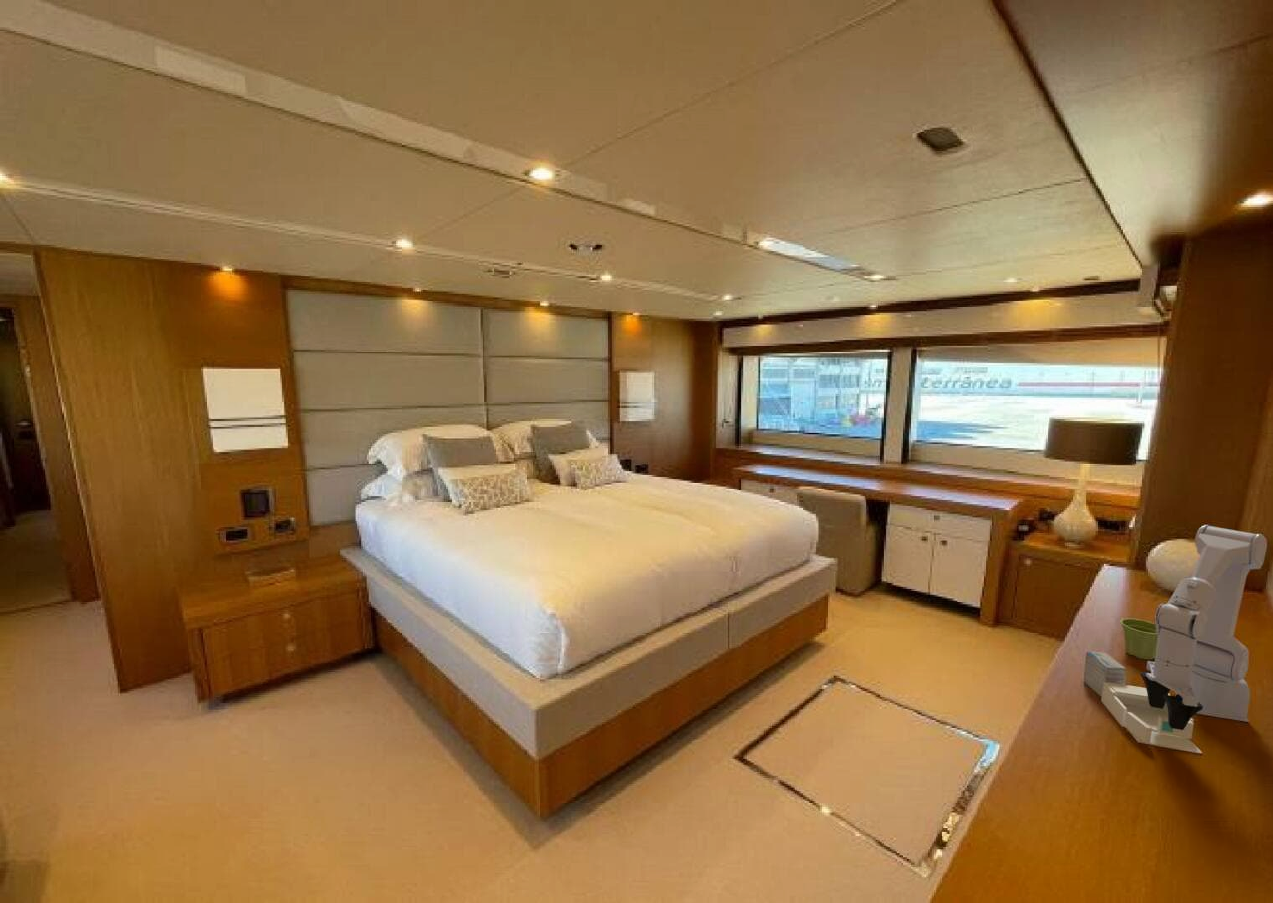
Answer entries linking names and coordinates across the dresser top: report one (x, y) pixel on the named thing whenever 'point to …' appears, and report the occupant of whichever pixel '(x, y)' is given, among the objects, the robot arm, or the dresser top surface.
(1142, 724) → the carton
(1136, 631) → the plant pot
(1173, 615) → the robot arm
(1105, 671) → the medicine box
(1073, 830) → the dresser top surface
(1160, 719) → the carton flap
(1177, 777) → the dresser top surface
